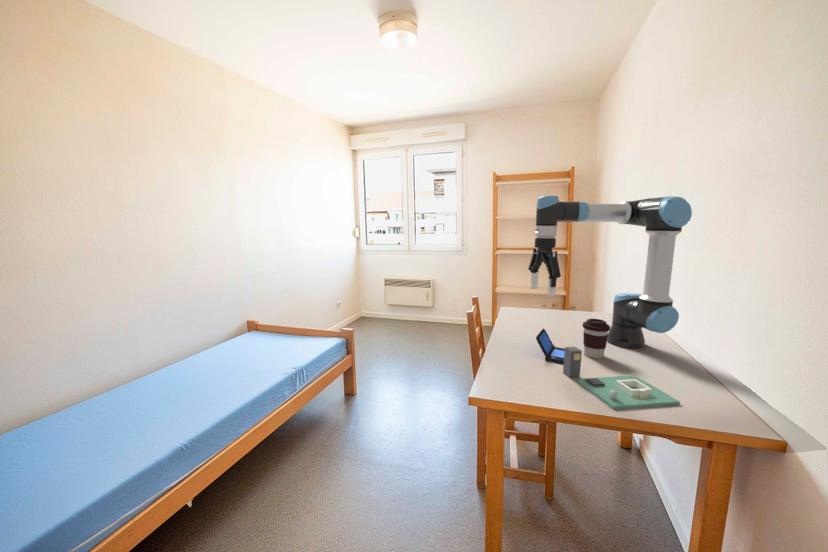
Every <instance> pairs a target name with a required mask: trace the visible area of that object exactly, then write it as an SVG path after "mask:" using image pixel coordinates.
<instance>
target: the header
mask: <svg viewBox="0 0 828 552" xmlns="http://www.w3.org/2000/svg"><path fill="white" fill-rule="evenodd" d="M615 386H616V387H618V388H619V389H621V390H622V391H624V392H625V393H627V394H628V395H630V396H631V397H633V396H639V397H644V396H647V395H652V389H651V388H649V387H648V386H646V385H644V384H642V383H641V382H639V381H637V380H636V379H630V380H616V385H615ZM628 386H635V387H637V388H638V389H631V388H630V387H628Z"/></svg>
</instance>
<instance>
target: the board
mask: <svg viewBox="0 0 828 552" xmlns="http://www.w3.org/2000/svg"><path fill="white" fill-rule="evenodd" d="M630 379H636V380H637V381H639V382H641V383H642V384H644V385H646V386H648V387H649V388H651V389H652V395H647V396H644V397H639V396H633V397H631V396H630V395H628V394H627V393H625V392H624V391H622V390H621V389H619V388H618V387H616V386H615V385H616V380H630ZM576 382H577V383H578V384H580V385H581V386H582V387H584V388H585V389H586V390H587V391H589V392H590V393H591V394H592V395H594V396H595V397H597V399H599V400H600V401H602V402H603V403H604V404H606V406H608V407H609V408H611V410H624V409H626V410H627V409H637V407H639V408H649V407H650V406H653V407H664V406H665V405H666V406H679V405H680V404H681V403H680V402H681V401H680V400H678V399H676V398H675V397H673V396H671V395H670V394H667V393H666V392H664V391H663V390H661V389H659V388H658V387H656V386H654V385H653V384H651V383H648V382H647V381H645V380H644V379H642V378H640V377H638V376H636V375H633V374H632V375H621V376H620V375H617V376H602V377H601V376H599V377H586V378H577V379H576ZM628 387H630V388H631V389H638V388H637V387H635V386H628ZM666 406H665V407H666ZM650 408H651V407H650Z"/></svg>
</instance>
